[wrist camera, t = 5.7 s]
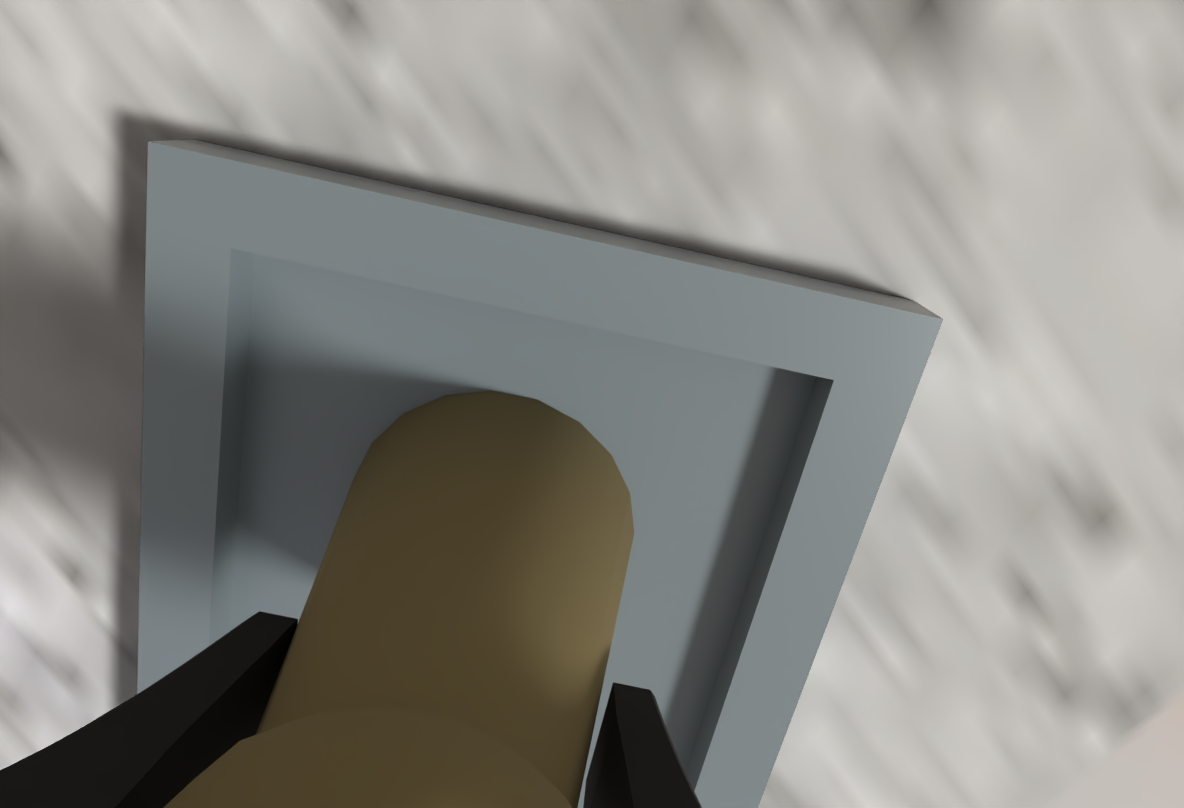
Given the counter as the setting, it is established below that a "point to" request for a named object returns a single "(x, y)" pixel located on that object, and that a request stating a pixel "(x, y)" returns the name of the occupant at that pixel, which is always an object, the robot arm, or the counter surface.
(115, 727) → the robot arm
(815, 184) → the counter surface
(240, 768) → the pepper shaker
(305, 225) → the tray
